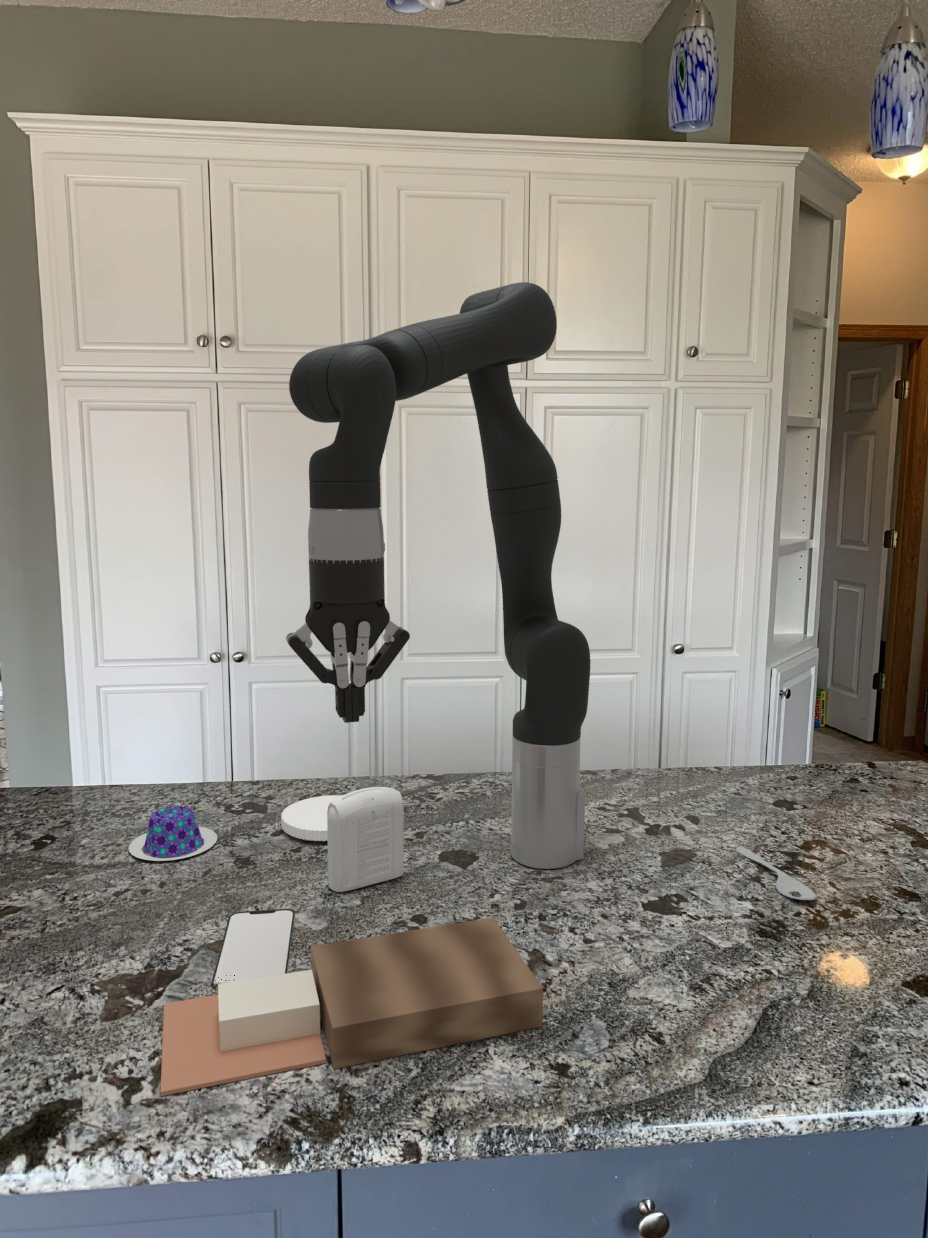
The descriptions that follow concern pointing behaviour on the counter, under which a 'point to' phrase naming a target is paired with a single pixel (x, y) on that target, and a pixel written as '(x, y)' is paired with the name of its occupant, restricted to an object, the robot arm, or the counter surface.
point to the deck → (422, 991)
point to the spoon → (782, 878)
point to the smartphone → (255, 945)
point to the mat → (202, 1064)
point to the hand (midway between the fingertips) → (350, 720)
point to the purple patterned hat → (172, 835)
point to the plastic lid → (307, 818)
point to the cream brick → (268, 1010)
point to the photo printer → (365, 838)
